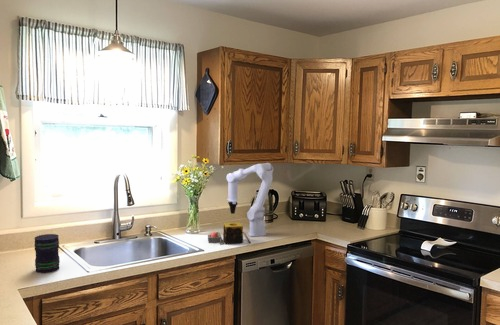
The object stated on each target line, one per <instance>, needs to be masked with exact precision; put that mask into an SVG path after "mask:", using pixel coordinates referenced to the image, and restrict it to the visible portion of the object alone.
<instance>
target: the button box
mask: <svg viewBox="0 0 500 325" xmlns="http://www.w3.org/2000/svg"><path fill="white" fill-rule="evenodd" d="M217 235H218V237H211V234H207V242H208V244H217V243H218V244H220V243H222V241H221V237H222V236H221V237H220V235H221V234H220V235H219V234H217Z"/></svg>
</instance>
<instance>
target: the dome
mask: <svg viewBox="0 0 500 325" xmlns="http://www.w3.org/2000/svg"><path fill="white" fill-rule="evenodd" d="M210 235H211V237H218V235H217V233H216V232H215V231H214V232H213V231H212V233H211V234H210Z"/></svg>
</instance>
